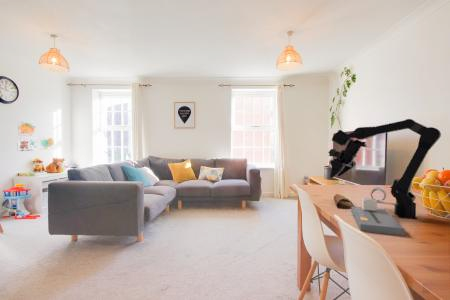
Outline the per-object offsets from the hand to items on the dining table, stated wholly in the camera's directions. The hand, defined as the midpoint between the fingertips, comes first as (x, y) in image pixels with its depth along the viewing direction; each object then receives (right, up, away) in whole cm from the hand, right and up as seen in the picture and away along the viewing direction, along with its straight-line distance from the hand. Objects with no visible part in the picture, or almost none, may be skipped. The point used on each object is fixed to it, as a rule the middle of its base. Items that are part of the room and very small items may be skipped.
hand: (334, 176), depth 123 cm
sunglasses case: (+4, -15, 0) cm, 16 cm away
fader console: (+2, -15, -28) cm, 32 cm away
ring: (+25, -14, +4) cm, 29 cm away
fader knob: (+6, -12, -20) cm, 24 cm away
